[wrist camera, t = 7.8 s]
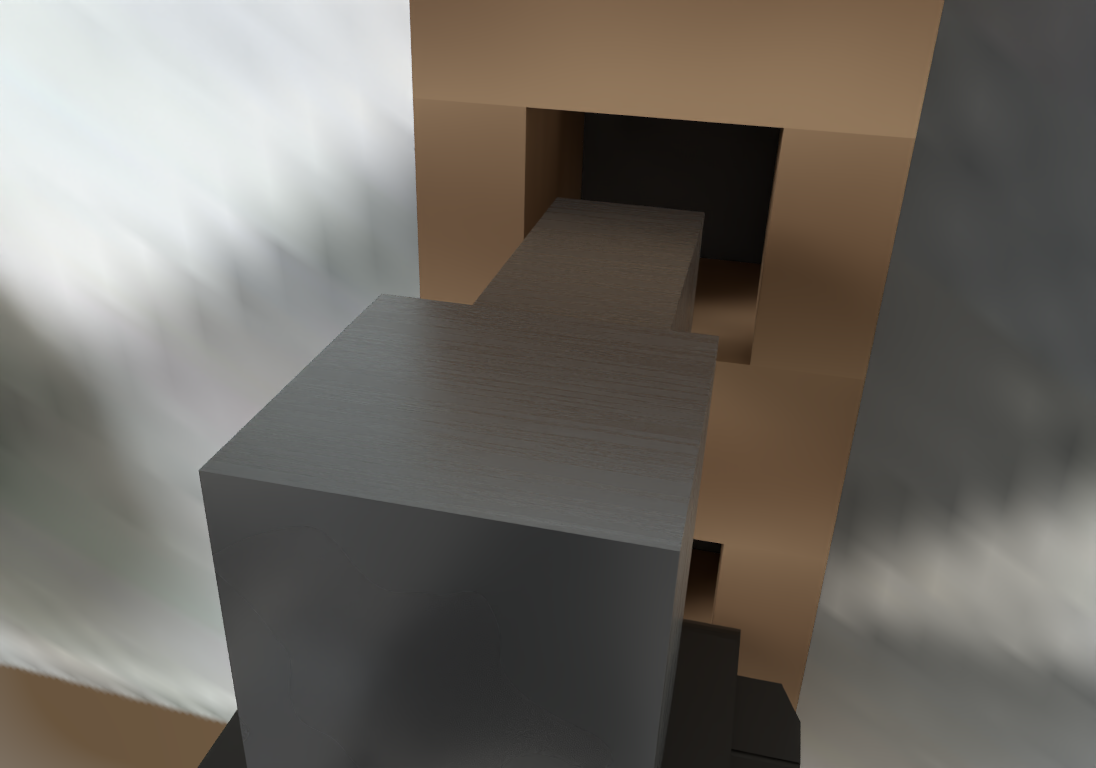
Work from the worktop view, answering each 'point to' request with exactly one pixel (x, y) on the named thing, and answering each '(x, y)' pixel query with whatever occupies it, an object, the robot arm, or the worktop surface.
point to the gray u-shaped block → (477, 515)
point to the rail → (722, 286)
